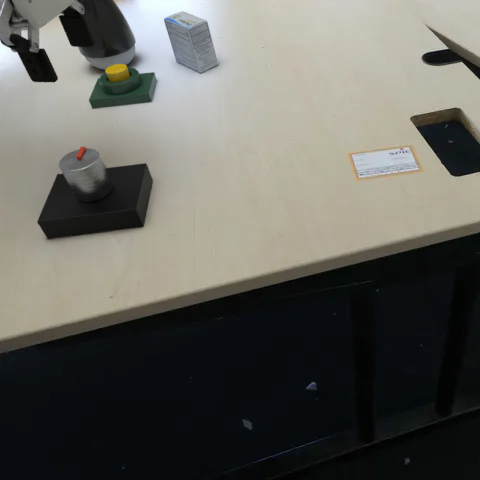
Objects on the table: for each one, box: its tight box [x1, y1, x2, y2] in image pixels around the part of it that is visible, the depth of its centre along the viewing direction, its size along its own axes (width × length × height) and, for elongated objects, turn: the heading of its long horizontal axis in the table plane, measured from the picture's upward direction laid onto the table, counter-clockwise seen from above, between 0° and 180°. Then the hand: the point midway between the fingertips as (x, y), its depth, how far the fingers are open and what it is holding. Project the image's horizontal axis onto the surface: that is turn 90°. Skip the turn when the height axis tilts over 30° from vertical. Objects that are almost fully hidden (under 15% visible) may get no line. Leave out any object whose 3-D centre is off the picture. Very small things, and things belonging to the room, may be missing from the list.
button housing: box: [88, 66, 158, 110], centre depth 93 cm, size 10×8×4 cm
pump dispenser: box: [77, 0, 136, 71], centre depth 98 cm, size 10×10×15 cm
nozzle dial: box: [58, 146, 113, 202], centre depth 68 cm, size 5×5×5 cm
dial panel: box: [36, 162, 154, 240], centre depth 71 cm, size 12×10×3 cm
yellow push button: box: [104, 64, 130, 82], centre depth 92 cm, size 4×4×2 cm
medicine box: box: [163, 10, 219, 74], centre depth 99 cm, size 8×4×9 cm, turn 48°
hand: (65, 62), depth 68 cm, fingers open, 9 cm apart
